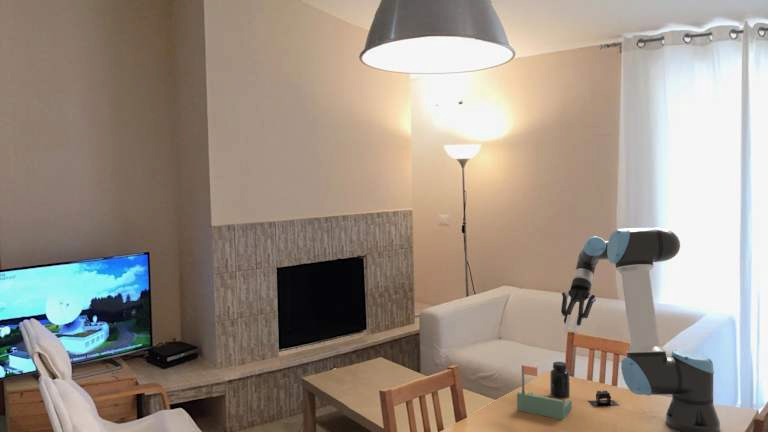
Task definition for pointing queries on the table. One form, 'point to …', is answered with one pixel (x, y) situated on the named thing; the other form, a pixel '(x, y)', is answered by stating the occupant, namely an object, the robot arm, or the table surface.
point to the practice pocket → (540, 400)
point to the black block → (603, 402)
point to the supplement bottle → (559, 380)
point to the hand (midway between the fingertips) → (570, 331)
